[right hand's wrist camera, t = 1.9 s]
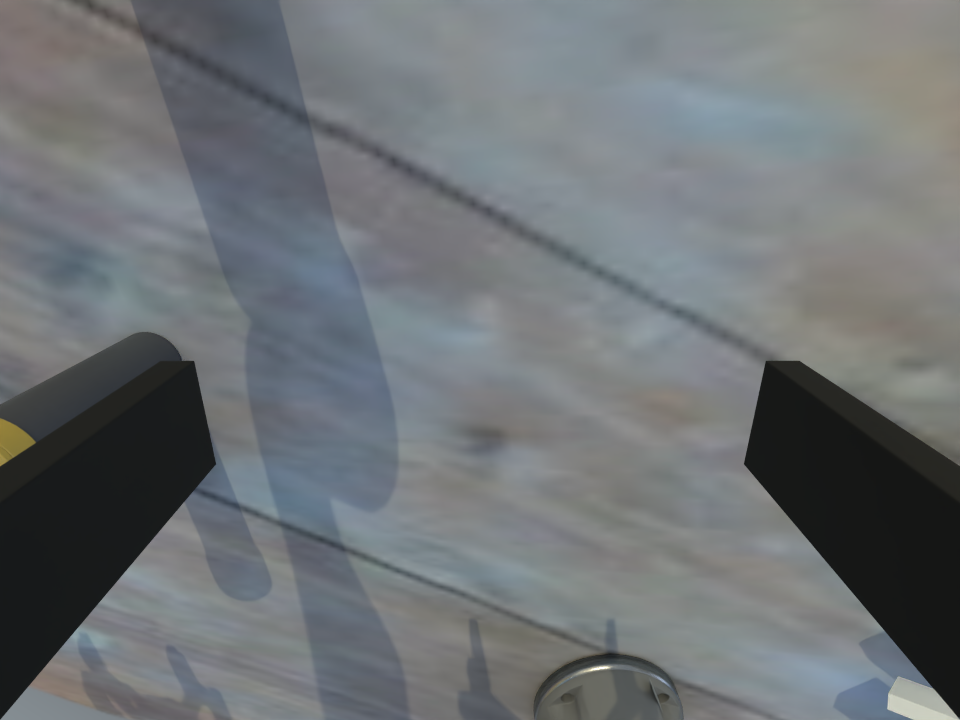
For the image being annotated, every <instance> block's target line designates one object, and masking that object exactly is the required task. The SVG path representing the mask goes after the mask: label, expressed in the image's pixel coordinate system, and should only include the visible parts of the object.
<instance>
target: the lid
mask: <svg viewBox="0 0 960 720" xmlns="http://www.w3.org/2000/svg"><path fill="white" fill-rule="evenodd" d="M35 443H36V442H35V440H34V439H33V438H32V437H31V436H30V435H29V434H27V433H26V432H25V431H24V430H22V429H21V428H19V427H18V426H16V425H14V424H12V423H11V422H8V421H6V420H4V419H1V418H0V466H1V465H3V464H4V463H6V462H7V461H9V460H10V459H12V458H13V457H15V456H17V455H18V454H20V453H21V452H23V451H24V450H26V449H27V448H29V447H30V446H32V445H33V444H35Z"/></svg>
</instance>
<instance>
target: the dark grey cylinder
mask: <svg viewBox="0 0 960 720" xmlns="http://www.w3.org/2000/svg"><path fill="white" fill-rule="evenodd" d="M160 361H181V358H180V355H179V353H178V351H177V350H176V348H175V347H174V346H173V345H172V344H171V343H170V342H169V341H168V340H166V339H165V338H163V337H161V336H159V335H157V334H154V333H148V332H141V333H136V334H133V335H131V336H129V337H128V338H126V339H124V340H122V341H120V342H118V343H116V344H114V345H112V346H110V347H109V348H107V349H105V350H103V351H101V352H99V353H97V354H95V355H93V356H92V357H90V358H88V359H86V360H84V361H82V362H80V363H78V364H76V365H74V366H73V367H71V368H69V369H67V370H65V371H63V372H61V373H59V374H57V375H56V376H54V377H52V378H50V379H48V380H46V381H44V382H42V383H40V384H38V385H37V386H35V387H33V388H31V389H29V390H27V391H25V392H23V393H21V394H20V395H18V396H16V397H14V398H12V399H10V400H8V401H6V402H4V403H2V404H1V405H0V418H1V419H4V420H6V421H8V422H11V423H12V424H14V425H16V426H18V427H19V428H21V429H22V430H24V431H25V432H26V433H27V434H29V435H30V436H31V437H32V438H33V439H34V440H35V442H38V441H39V440H41V439H42V438H44V437H45V436H47V435H49V434H50V433H52V432H53V431H55V430H56V429H58V428H59V427H61V426H62V425H64V424H65V423H67V422H68V421H70V420H71V419H73V418H74V417H76V416H77V415H79V414H81V413H82V412H84V411H85V410H87V409H88V408H90V407H91V406H93V405H94V404H96V403H97V402H99V401H100V400H102V399H103V398H105V397H106V396H108V395H110V394H111V393H113V392H114V391H116V390H117V389H119V388H120V387H122V386H123V385H125V384H126V383H128V382H129V381H131V380H132V379H134V378H135V377H137V376H138V375H140V374H142V373H143V372H145V371H146V370H148V369H149V368H151V367H152V366H154V365H155V364H157V363H158V362H160Z"/></svg>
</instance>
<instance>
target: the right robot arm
mask: <svg viewBox="0 0 960 720" xmlns="http://www.w3.org/2000/svg"><path fill="white" fill-rule="evenodd" d="M215 465H216V462H215V457H214V452H213V448H212V443H211V438H210V434H209V429H208V424H207V419H206V415H205V410H204V405H203V401H202V396H201V391H200V387H199V382H198V377H197V373H196V368H195V363H194V361H160V362H158V363H157V364H155V365H154V366H152V367H151V368H149V369H148V370H146V371H145V372H143V373H142V374H140V375H138V376H137V377H135V378H134V379H132V380H131V381H129V382H128V383H126V384H125V385H123V386H122V387H120V388H119V389H117V390H116V391H114V392H113V393H111V394H110V395H108V396H106V397H105V398H103V399H102V400H100V401H99V402H97V403H96V404H94V405H93V406H91V407H90V408H88V409H87V410H85V411H84V412H82V413H81V414H79V415H77V416H76V417H74V418H73V419H71V420H70V421H68V422H67V423H65V424H64V425H62V426H61V427H59V428H58V429H56V430H55V431H53V432H52V433H50V434H49V435H47V436H45V437H44V438H42V439H41V440H39V441H38V442H36V443H35V444H33V445H32V446H30V447H29V448H27V449H26V450H24V451H23V452H21V453H20V454H18V455H17V456H15V457H13V458H12V459H10V460H9V461H7V462H6V463H4V464H3V465H1V466H0V719H1V718H2V717H3V716H4V715H5V713H6V712H7V711H8V710H9V709H10V707H11V706H12V705H13V704H14V703H15V701H16V700H17V699H18V698H19V697H20V695H21V694H22V693H23V692H24V691H25V690H26V688H27V687H28V686H29V685H30V684H31V683H32V681H33V680H34V679H35V678H36V677H37V675H38V674H39V673H40V672H41V671H42V670H43V668H44V667H45V666H46V665H47V664H48V662H49V661H50V660H51V659H52V658H53V656H54V655H55V654H56V653H57V652H58V651H59V649H60V648H61V647H62V646H63V645H64V643H65V642H66V641H67V640H68V639H69V638H70V636H71V635H72V634H73V633H74V632H75V630H76V629H77V628H78V627H79V626H80V625H81V623H82V622H83V621H84V620H85V619H86V617H87V616H88V615H89V614H90V613H91V611H92V610H93V609H94V608H95V607H96V606H97V604H98V603H99V602H100V601H101V600H102V598H103V597H104V596H105V595H106V594H107V593H108V591H109V590H110V589H111V588H112V587H113V585H114V584H115V583H116V582H117V581H118V580H119V578H120V577H121V576H122V575H123V574H124V572H125V571H126V570H127V569H128V568H129V566H130V565H131V564H132V563H133V562H134V561H135V559H136V558H137V557H138V556H139V555H140V553H141V552H142V551H143V550H144V549H145V548H146V546H147V545H148V544H149V543H150V542H151V540H152V539H153V538H154V537H155V536H156V535H157V533H158V532H159V531H160V530H161V529H162V527H163V526H164V525H165V524H166V523H167V521H168V520H169V519H170V518H171V517H172V516H173V514H174V513H175V512H176V511H177V510H178V508H179V507H180V506H181V505H182V504H183V503H184V501H185V500H186V499H187V498H188V497H189V495H190V494H191V493H192V492H193V491H194V490H195V488H196V487H197V486H198V485H199V484H200V482H201V481H202V480H203V479H204V478H205V476H206V475H207V474H208V473H209V472H210V471H211V469H212V468H213V467H214V466H215ZM744 465H745V466H746V467H747V468H748V469H749V471H750V472H751V473H752V474H753V475H754V476H755V478H756V479H757V480H758V481H759V482H760V484H761V485H762V486H763V487H764V488H765V490H766V491H767V492H768V493H769V494H770V495H771V497H772V498H773V499H774V500H775V501H776V503H777V504H778V505H779V506H780V507H781V508H782V510H783V511H784V512H785V513H786V514H787V516H788V517H789V518H790V519H791V520H792V521H793V523H794V524H795V525H796V526H797V527H798V529H799V530H800V531H801V532H802V533H803V535H804V536H805V537H806V538H807V539H808V540H809V542H810V543H811V544H812V545H813V546H814V548H815V549H816V550H817V551H818V552H819V553H820V555H821V556H822V557H823V558H824V559H825V561H826V562H827V563H828V564H829V565H830V566H831V568H832V569H833V570H834V571H835V572H836V574H837V575H838V576H839V577H840V578H841V580H842V581H843V582H844V583H845V584H846V585H847V587H848V588H849V589H850V590H851V591H852V593H853V594H854V595H855V596H856V597H857V598H858V600H859V601H860V602H861V603H862V604H863V606H864V607H865V608H866V609H867V610H868V611H869V613H870V614H871V615H872V616H873V617H874V619H875V620H876V621H877V622H878V623H879V625H880V626H881V627H882V628H883V629H884V630H885V632H886V633H887V634H888V635H889V636H890V638H891V639H892V640H893V641H894V642H895V643H896V645H897V646H898V647H899V648H900V649H901V651H902V652H903V653H904V654H905V655H906V656H907V658H908V659H909V660H910V661H911V662H912V664H913V665H914V666H915V667H916V668H917V670H918V671H919V672H920V673H921V674H922V675H923V677H924V678H925V679H926V680H927V681H928V683H929V684H930V685H931V686H932V687H933V688H934V690H935V691H936V692H937V693H938V694H939V696H940V697H941V698H942V699H943V700H944V701H945V703H946V704H947V705H948V706H949V707H950V709H951V710H952V711H953V712H954V713H955V715H956V716H957V717H958V718H959V719H960V466H959V465H957V464H956V463H954V462H953V461H951V460H950V459H948V458H947V457H945V456H943V455H942V454H940V453H939V452H937V451H936V450H934V449H933V448H931V447H930V446H928V445H927V444H925V443H924V442H922V441H921V440H919V439H918V438H916V437H915V436H913V435H911V434H910V433H908V432H907V431H905V430H904V429H902V428H901V427H899V426H898V425H896V424H895V423H893V422H892V421H890V420H889V419H887V418H886V417H884V416H883V415H881V414H879V413H878V412H876V411H875V410H873V409H872V408H870V407H869V406H867V405H866V404H864V403H863V402H861V401H860V400H858V399H857V398H855V397H854V396H852V395H850V394H849V393H847V392H846V391H844V390H843V389H841V388H840V387H838V386H837V385H835V384H834V383H832V382H831V381H829V380H828V379H826V378H825V377H823V376H822V375H820V374H818V373H817V372H815V371H814V370H812V369H811V368H809V367H808V366H806V365H805V364H803V363H802V362H800V361H766V363H765V368H764V373H763V377H762V382H761V387H760V391H759V396H758V401H757V405H756V410H755V415H754V419H753V424H752V429H751V434H750V438H749V443H748V448H747V452H746V457H745V462H744ZM534 719H535V720H684V718H683V709H682V705H681V702H680V699H679V696H678V693H677V691H676V688H675V686H674V684H673V682H672V680H671V679H670V677H669V676H668V675H667V674H666V673H665V672H664V671H663V670H661V669H660V668H659V667H657V666H656V665H654V664H652V663H650V662H648V661H645V660H643V659H640V658H636V657H632V656H626V655H613V654H610V655H597V656H591V657H587V658H583V659H580V660H577V661H574V662H572V663H569V664H567V665H565V666H564V667H562V668H560V669H559V670H557V671H556V672H554V673H553V674H552V675H551V676H550V677H548V678H547V679H546V681H545V682H544V683H543V684H542V686H541V687H540V689H539V690H538V692H537V695H536V697H535V701H534Z"/></svg>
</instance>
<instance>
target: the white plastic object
mask: <svg viewBox="0 0 960 720" xmlns="http://www.w3.org/2000/svg"><path fill="white" fill-rule="evenodd" d="M888 710H890V711H893V712H895V713H898V714H900V715H903V716H905V717H908V718H910V719H913V720H960V719H959V718H958V717H957V716H956V715H955V713H954V712H953V711H952V710H951V709H950V707H949V706H948V705H947V704H946V703H945V701H944V700H943V699H942V698H941V697H940V696H939V694H938V693H937V692H936V691H935V690H934V689H933V688H930V687H927V686H924V685H921V684H919V683H916V682H913V681H910V680H907V679H905V678H902V677H899V676H898V677H897V679H896V681H895V683H894V684H893V686H892V688H891V689H890V691H889V693H888Z"/></svg>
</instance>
